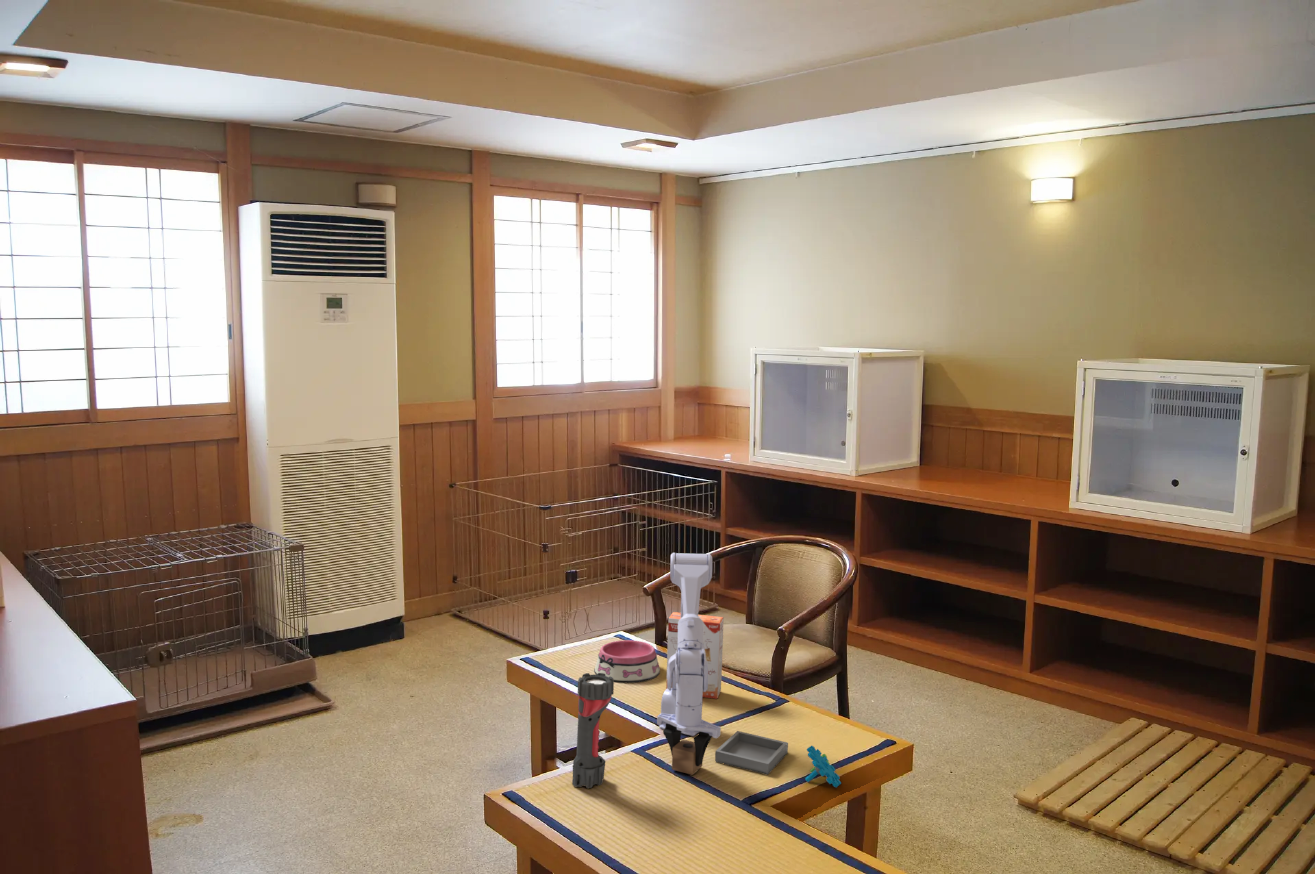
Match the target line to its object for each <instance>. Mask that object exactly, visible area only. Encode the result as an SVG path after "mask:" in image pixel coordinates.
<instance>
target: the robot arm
mask: <svg viewBox="0 0 1315 874" xmlns="http://www.w3.org/2000/svg"><path fill="white" fill-rule="evenodd" d="M669 567H670V569H669V571H670V573H669V575H670V576H669V577H670V581H671V583H672V584H674V585H676V586H677V587H679V589H680V592H681V593H680V594H681V595H680V596H681V597H680V613H681V619H680V620H679V621H678V647H677V650H676V653H675V654H674V655H673V656H671V657H670V659H669V660H668V677H667V676H666V681H667V689H666V688H665V690H664V692H663V693H662V696H661V703H660V704H661V705H660V713H659V714H658V715H657V716H656V724H657V725H658V726H659V727H658V728H660V729H663V730H662V733H663V735H664V737H665V739H666V741H667V744H668V746H669V749H670V752H671V754H672V750H673V747H674V746H675V745H676V744H678V743H679V742H680V741H681V740H682V739H681V738H682V734H683V735H687V736H691V737H692V736H693V742H695V750H696V756H695V764H696V766H700V765H701V764H702V765H703V761H704V756H705V753H706V750H707V748H708V745H710V744H709V743H710V741H711V740H712V738H713V739H718V738H719V737H720V736H721V728H722V727H721V726H719V725H715V724H713V723H711V722H709V721H706V720H704V719H703V718H702V717H703V716H702V715H703V697H702V696H703V692H706V690H707V689H708V662H707V660H706V653H705V648H704V644H703V630H704V624H703V621H702V620H701V619H700V618H699V616H698V615H699V609H700V599H701V589H703V588H704V587H706V586H708V585H709V584H710V582H711V580H712V577H713V556H712V555H711V553H686V552H685V553H680V552H679V553H677V552H672V553H671V554H670V566H669ZM671 687H672V688H671Z"/></svg>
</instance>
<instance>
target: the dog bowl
mask: <svg viewBox="0 0 1315 874" xmlns="http://www.w3.org/2000/svg"><path fill="white" fill-rule="evenodd" d="M593 671H594V675H597V674H598V673H604V674H605V676H607V677H610V676H611V677H613V679H614V683H621V684H634V683H635V684H636V683H645V682H647V681H651V680H653V679H656V678H657V677H658V676H659V675H660V673H661V670H660V665H659V660H658V655H657V652H656V649H655V647H654V646H653V645H652V644H650V643H647V642H644V641H640V640H634V639H633V640H631V639H629V640H628V639H625V640H623V639H621V640H615V641H611V642H608V643H605V644H604V645H602V646H601V647H600V650H599V653H598V654H597V660H596V663H595V667H594V670H593Z"/></svg>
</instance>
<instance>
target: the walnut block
mask: <svg viewBox="0 0 1315 874" xmlns="http://www.w3.org/2000/svg"><path fill="white" fill-rule="evenodd" d="M671 756H672V758H671V761H672V762H671V770H673V771H677V772H680V773H685V774H688V775H694V774H695V773H697V772H698V770H700V768H702V767H703V763H702V764H701V765H700V766H696V764H695V756H696V750H695V742H694V741H691V740H687V739H680V742H679V743H678V744H676V745H675V746H674V747H673V750H672V753H671Z"/></svg>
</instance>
